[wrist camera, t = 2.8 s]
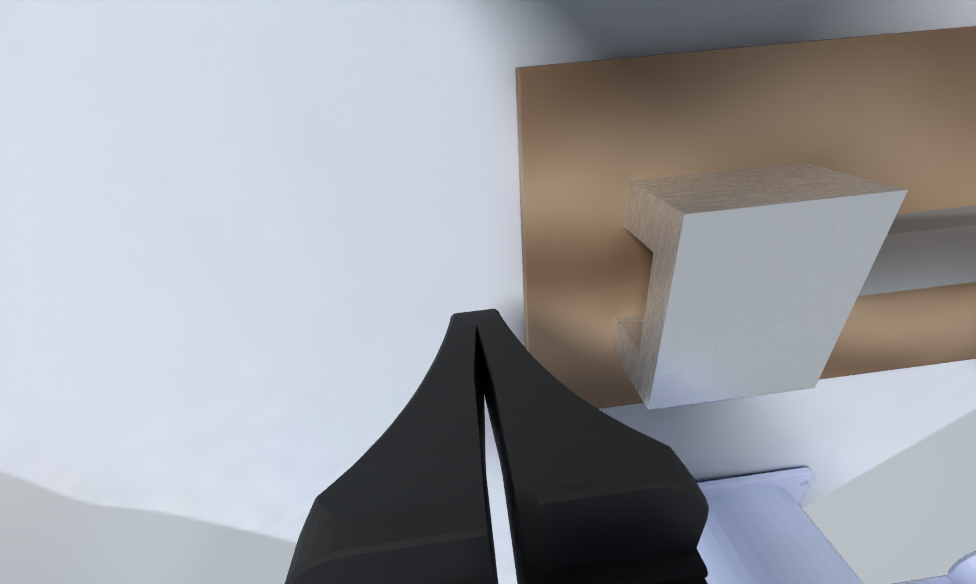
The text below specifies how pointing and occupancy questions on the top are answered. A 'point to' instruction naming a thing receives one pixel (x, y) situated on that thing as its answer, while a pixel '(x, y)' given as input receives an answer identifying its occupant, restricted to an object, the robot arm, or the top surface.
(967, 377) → the top surface
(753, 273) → the block
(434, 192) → the top surface
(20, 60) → the top surface
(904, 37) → the slide rail board
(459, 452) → the robot arm
